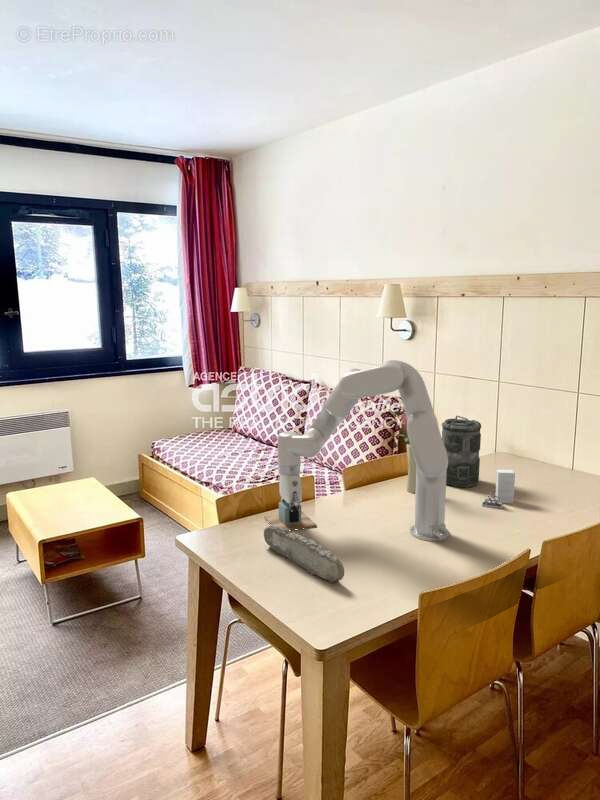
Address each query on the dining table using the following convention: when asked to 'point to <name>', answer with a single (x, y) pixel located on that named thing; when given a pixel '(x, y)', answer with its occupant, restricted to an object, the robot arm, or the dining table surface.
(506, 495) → the skincare box
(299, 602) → the dining table surface
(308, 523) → the post block
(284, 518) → the dusty teal cube
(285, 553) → the elongated rock
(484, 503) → the silver ball pyramid
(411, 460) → the flower vase
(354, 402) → the robot arm
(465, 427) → the canister
